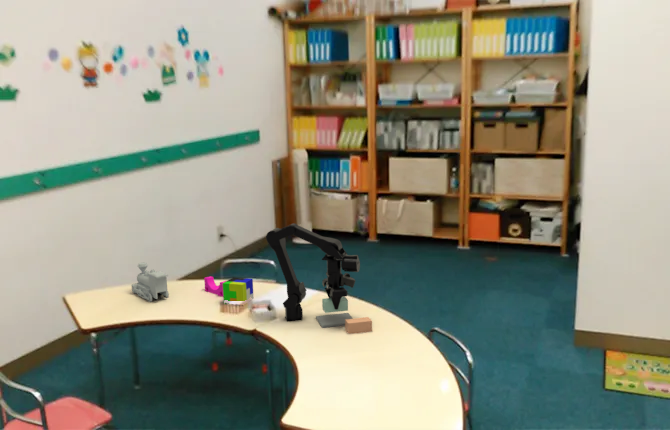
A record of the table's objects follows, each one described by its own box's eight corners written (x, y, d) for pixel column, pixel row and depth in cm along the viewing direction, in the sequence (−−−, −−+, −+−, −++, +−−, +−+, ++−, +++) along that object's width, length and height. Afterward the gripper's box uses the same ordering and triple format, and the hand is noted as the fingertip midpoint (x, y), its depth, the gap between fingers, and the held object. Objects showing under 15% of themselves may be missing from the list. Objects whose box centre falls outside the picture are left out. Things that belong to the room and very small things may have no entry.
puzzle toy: (253, 299, 290) (252, 278, 289) (243, 306, 281) (242, 284, 279) (234, 298, 294) (233, 277, 292) (223, 304, 284) (222, 283, 283)
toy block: (234, 295, 298) (233, 280, 296) (224, 298, 293) (223, 283, 292) (215, 289, 308) (214, 275, 306) (205, 292, 303) (204, 277, 302)
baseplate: (322, 328, 251) (322, 325, 251) (315, 318, 262) (315, 316, 262) (355, 324, 254) (355, 321, 254) (348, 314, 266) (348, 312, 266)
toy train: (150, 288, 313) (147, 259, 310) (175, 300, 292) (173, 269, 290) (128, 293, 306) (126, 263, 303) (153, 305, 285) (150, 273, 282)
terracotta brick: (348, 334, 244) (348, 323, 243) (345, 330, 249) (345, 319, 248) (372, 331, 246) (371, 320, 245) (368, 327, 251) (368, 316, 250)
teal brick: (325, 312, 254) (324, 302, 253) (322, 309, 259) (322, 298, 258) (348, 310, 256) (347, 300, 256) (345, 306, 261) (344, 296, 260)
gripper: (359, 274, 248) (360, 312, 250) (347, 263, 265) (348, 298, 268) (332, 277, 245) (333, 315, 248) (321, 265, 263) (322, 301, 266)
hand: (335, 307), depth 257 cm, fingers closed on teal brick, 5 cm apart
